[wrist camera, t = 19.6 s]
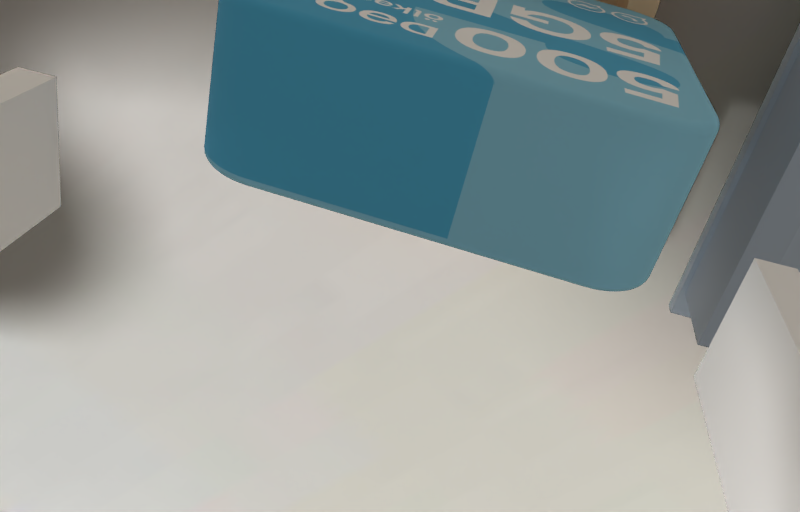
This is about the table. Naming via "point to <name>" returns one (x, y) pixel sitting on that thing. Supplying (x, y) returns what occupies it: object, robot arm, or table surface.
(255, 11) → the data package
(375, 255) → the table surface
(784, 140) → the lid
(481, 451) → the table surface
